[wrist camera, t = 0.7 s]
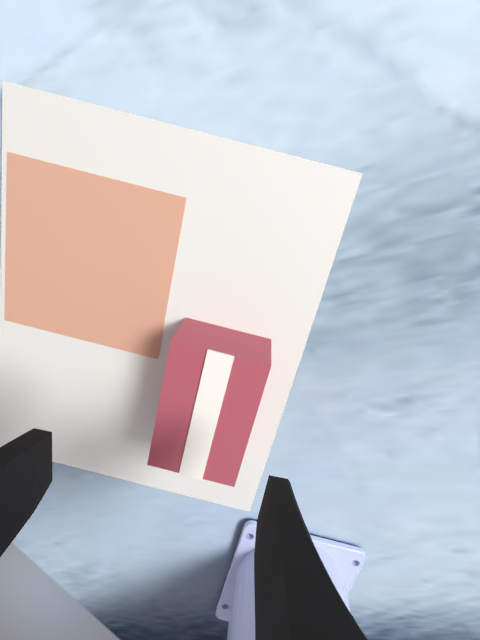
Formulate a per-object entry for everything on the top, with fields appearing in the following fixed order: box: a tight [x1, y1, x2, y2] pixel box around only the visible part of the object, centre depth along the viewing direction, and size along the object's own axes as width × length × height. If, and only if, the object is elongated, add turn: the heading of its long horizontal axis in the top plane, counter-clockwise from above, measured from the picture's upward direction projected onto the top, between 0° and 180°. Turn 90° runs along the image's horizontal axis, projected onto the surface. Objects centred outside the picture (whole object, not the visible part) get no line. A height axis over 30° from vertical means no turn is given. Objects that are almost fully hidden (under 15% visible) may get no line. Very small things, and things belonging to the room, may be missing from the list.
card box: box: [147, 317, 271, 487], centre depth 18 cm, size 7×4×3 cm, turn 167°
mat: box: [0, 81, 362, 512], centre depth 19 cm, size 20×16×1 cm
